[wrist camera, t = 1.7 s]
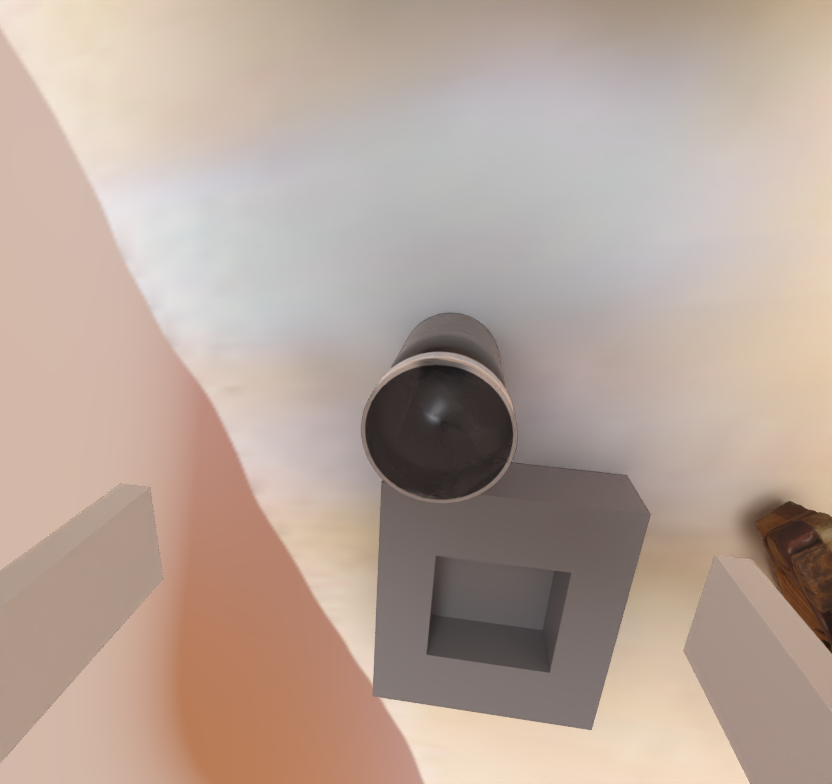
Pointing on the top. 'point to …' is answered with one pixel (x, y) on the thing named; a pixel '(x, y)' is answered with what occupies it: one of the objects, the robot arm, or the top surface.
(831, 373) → the top surface
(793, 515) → the wooden carving
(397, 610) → the grey recessed frame block
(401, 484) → the lens
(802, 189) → the top surface
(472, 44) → the top surface
